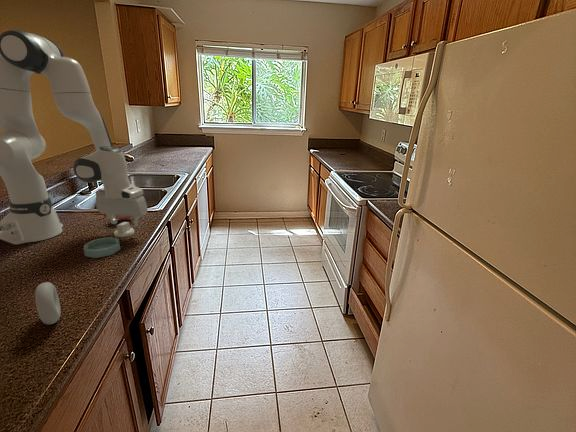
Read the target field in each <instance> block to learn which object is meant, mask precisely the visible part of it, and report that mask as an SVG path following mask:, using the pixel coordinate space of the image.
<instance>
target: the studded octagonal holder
mask: <svg viewBox="0 0 576 432" xmlns="http://www.w3.org/2000/svg"><path fill="white" fill-rule="evenodd" d="M120 250H121V245H120V240H119V238H118V237H111V236H110V237H109V236H106V237H101V238H95V239H93V240H90V241H89V242H85V244H83V253H84V254H83V255H84V256H85V257H88V258H93V259H97V258H102V257H103V258H104V257H107V256H112V255H114V254H116V253H117V252H119V251H120Z"/></svg>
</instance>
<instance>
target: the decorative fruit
mask: <svg viewBox="0 0 576 432" xmlns="http://www.w3.org/2000/svg"><path fill="white" fill-rule="evenodd" d="M113 216H114V217H115V218H116V219H117V220H122V221H127V220H129V219H130V218H133V217H132V216H129V215H119V214H113Z"/></svg>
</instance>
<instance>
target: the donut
mask: <svg viewBox="0 0 576 432" xmlns="http://www.w3.org/2000/svg"><path fill="white" fill-rule="evenodd" d="M34 301H35V306H36V310H37V314H38V317H39V319H40V320H41V322H42V323H43V324H45V325H48V326H49V325H53V324H55V323H57V322H58V321H59V320H60V318H61V313H62V311H61V303H60V297H59V295H58V292H57V288H56V286H55V285H54V284H53V283H52V282H50V281H46V282H42V283H39V284H38V285H37V287H36V289H35V290H34Z"/></svg>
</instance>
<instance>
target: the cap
mask: <svg viewBox="0 0 576 432" xmlns="http://www.w3.org/2000/svg"><path fill="white" fill-rule="evenodd" d="M115 226H116V229H115V230H114V231H113V233H114V234H113V235H114V238H118V239H119V238H128V237H132V236H133V235H135V229H134V228H133V227H131V225H130V222H129V221H123V222H120V223H119V224H118V223H117V224H115Z"/></svg>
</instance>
